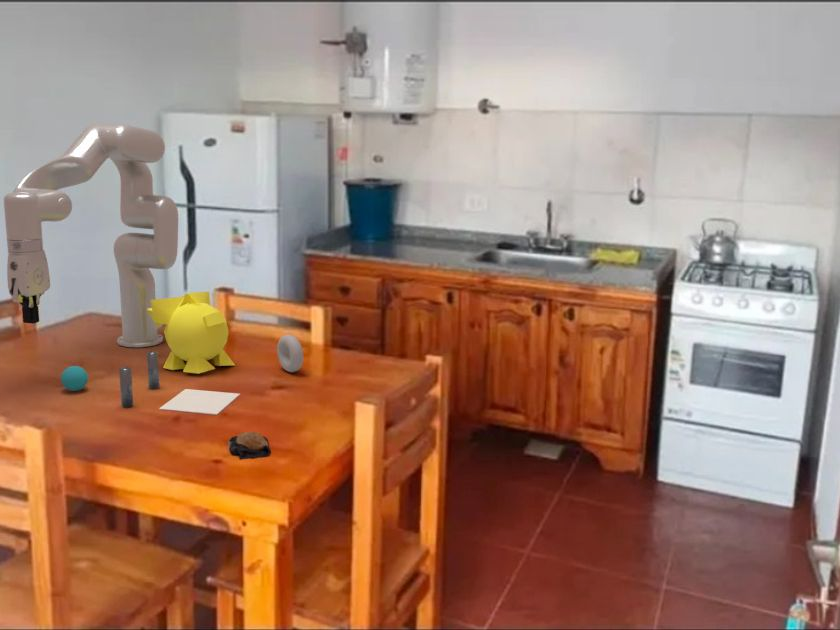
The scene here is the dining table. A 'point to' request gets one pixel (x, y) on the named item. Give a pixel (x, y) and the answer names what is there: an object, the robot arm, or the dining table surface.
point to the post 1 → (126, 387)
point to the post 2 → (153, 370)
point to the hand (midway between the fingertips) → (31, 322)
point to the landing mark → (200, 401)
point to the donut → (290, 353)
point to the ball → (74, 378)
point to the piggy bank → (192, 332)
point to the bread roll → (249, 446)
